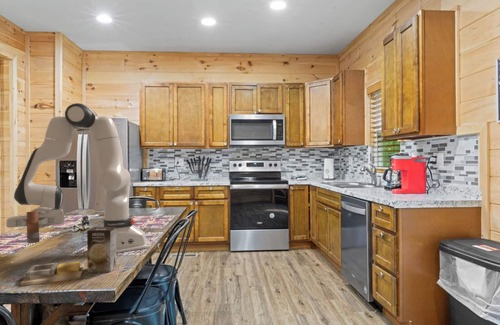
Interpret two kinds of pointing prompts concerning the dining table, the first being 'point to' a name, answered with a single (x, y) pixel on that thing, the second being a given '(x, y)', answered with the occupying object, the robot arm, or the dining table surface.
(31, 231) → the terracotta peg
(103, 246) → the coffee box
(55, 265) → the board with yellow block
